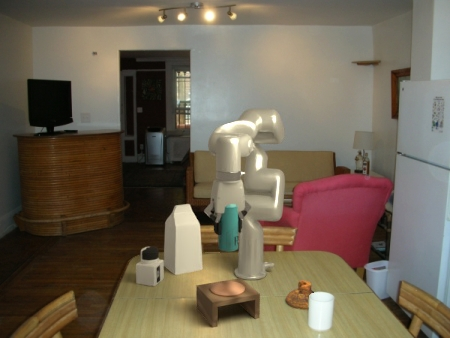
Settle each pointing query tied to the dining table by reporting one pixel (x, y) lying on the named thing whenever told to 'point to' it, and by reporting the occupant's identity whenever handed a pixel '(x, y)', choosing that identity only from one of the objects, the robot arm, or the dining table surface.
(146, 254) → the container
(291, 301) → the candle holder
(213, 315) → the wooden u-channel bracket
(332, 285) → the dining table surface
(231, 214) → the beverage bottle
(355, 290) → the dining table surface
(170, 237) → the milk
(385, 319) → the dining table surface
